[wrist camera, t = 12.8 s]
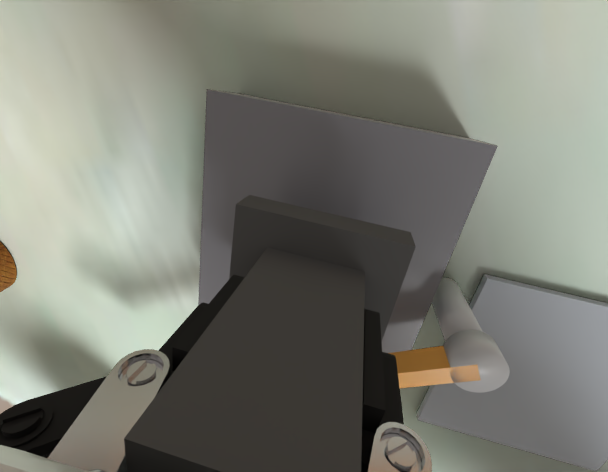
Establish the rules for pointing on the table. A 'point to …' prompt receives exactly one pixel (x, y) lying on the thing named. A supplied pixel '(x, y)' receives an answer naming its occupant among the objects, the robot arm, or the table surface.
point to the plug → (279, 350)
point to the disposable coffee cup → (6, 268)
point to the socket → (345, 192)
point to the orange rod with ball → (455, 363)
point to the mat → (536, 375)
